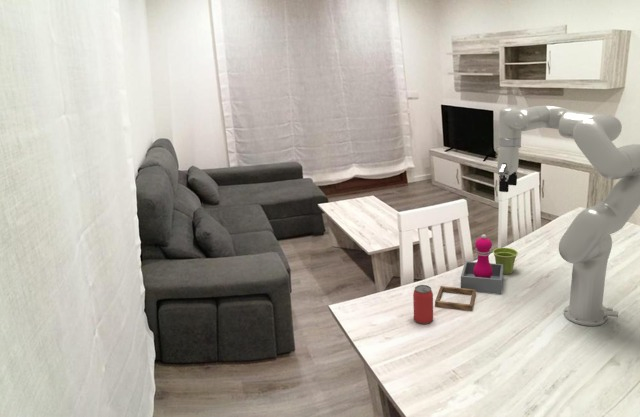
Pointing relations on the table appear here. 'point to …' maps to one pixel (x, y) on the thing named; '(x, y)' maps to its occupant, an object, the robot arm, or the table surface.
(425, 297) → the beer can
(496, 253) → the plant pot
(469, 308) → the brown wooden picture frame
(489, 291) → the bin
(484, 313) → the table surface
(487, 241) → the pepper mill
